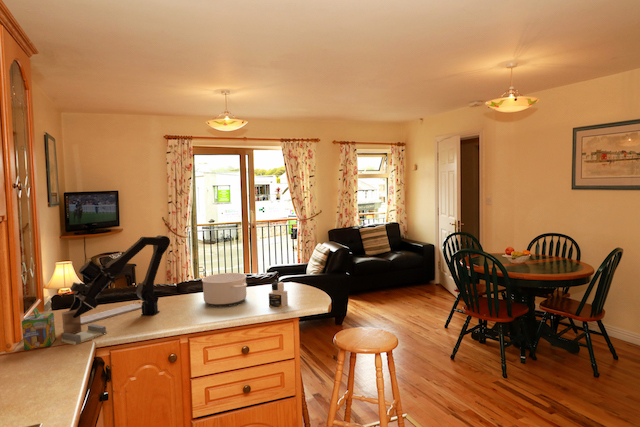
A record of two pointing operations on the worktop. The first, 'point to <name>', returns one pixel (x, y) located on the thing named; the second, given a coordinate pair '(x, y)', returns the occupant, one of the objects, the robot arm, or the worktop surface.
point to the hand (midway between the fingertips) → (71, 315)
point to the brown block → (71, 322)
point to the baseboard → (110, 313)
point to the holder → (84, 334)
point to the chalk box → (38, 330)
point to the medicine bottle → (278, 295)
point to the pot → (224, 289)
